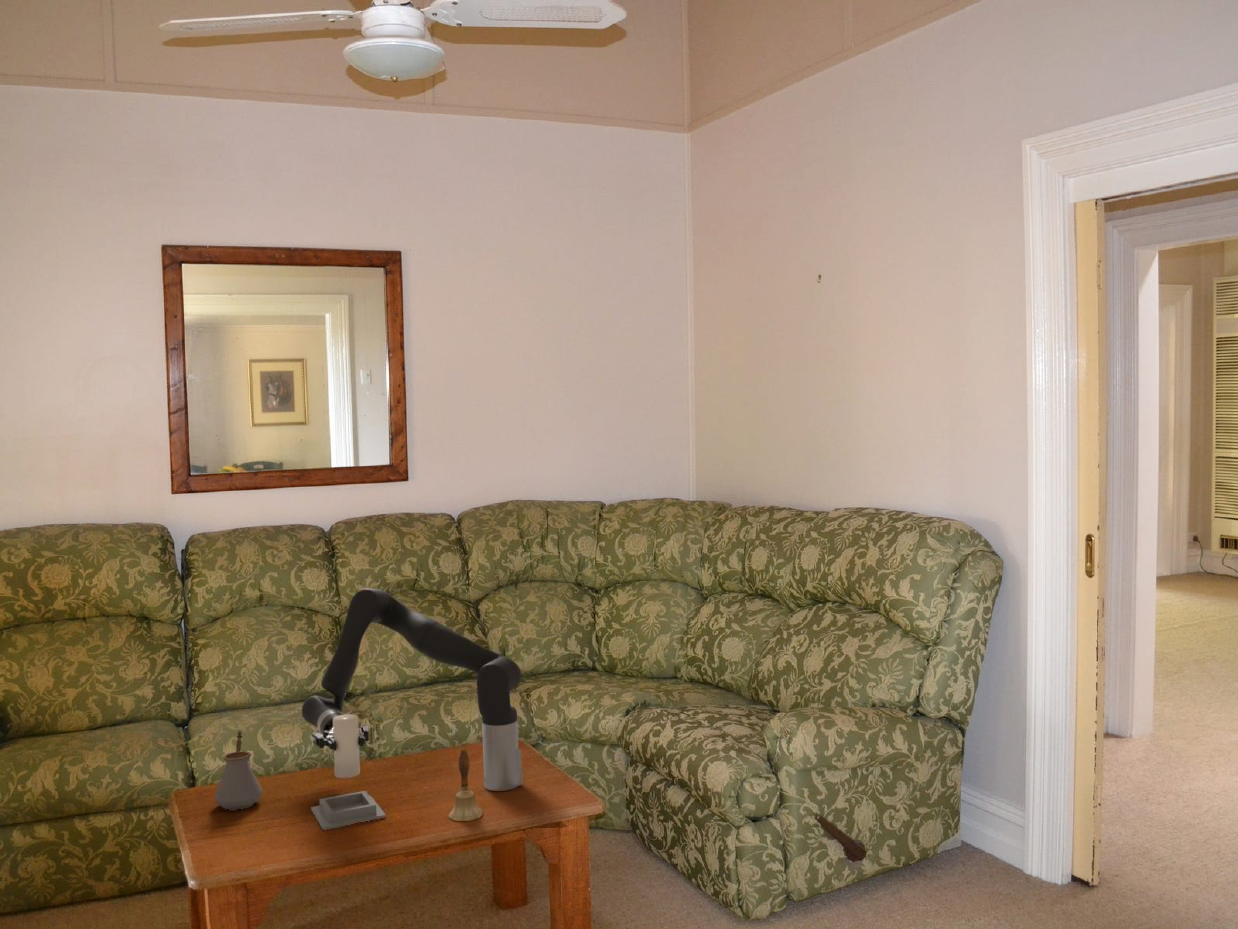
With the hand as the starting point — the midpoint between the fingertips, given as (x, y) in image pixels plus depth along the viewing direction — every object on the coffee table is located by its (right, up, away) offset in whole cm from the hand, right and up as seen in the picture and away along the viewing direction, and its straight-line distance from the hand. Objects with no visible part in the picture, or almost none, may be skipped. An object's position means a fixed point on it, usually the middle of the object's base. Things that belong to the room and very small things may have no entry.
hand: (348, 744), depth 257 cm
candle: (-1, -8, +3) cm, 8 cm away
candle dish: (-1, -18, +2) cm, 18 cm away
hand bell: (+29, -17, 0) cm, 34 cm away
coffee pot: (-32, -18, +16) cm, 40 cm away
